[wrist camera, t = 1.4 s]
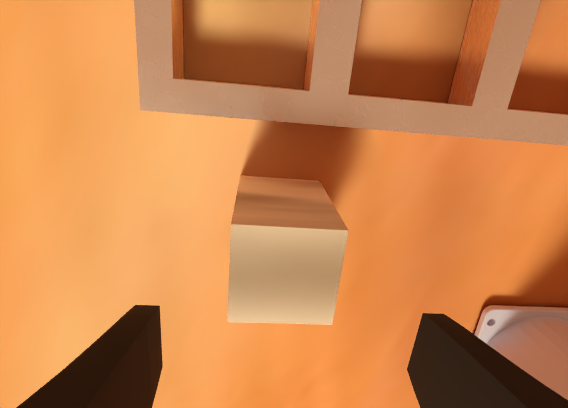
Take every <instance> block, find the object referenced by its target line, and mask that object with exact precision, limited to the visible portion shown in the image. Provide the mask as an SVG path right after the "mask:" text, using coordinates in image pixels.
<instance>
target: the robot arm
mask: <svg viewBox="0 0 568 408" xmlns="http://www.w3.org/2000/svg"><path fill="white" fill-rule="evenodd" d="M161 370H162V347H161V326H160V306H150V305H135V306H134V307H133V308H131V309H130V310H129V311H128V312H127V313H126V314H125V315H124V316H123V317H121V318H120V319H119V320H118V321H117V322H116V323H115V324H114V325H113V326H112V327H111V328H110V329H108V330H107V331H106V332H105V333H104V334H103V335H102V336H101V337H100V338H99V339H97V340H96V341H95V342H94V343H93V344H92V345H91V346H90V347H89V348H87V349H86V350H85V351H84V352H83V353H82V354H81V355H79V356H78V357H77V358H76V359H75V360H74V361H73V362H71V363H70V364H69V365H68V366H67V367H66V368H65V369H63V370H62V371H61V372H60V373H59V374H57V375H56V376H55V377H54V378H53V379H51V380H50V381H49V382H48V383H46V384H45V385H44V386H43V387H41V388H40V389H39V390H38V391H37V392H35V393H34V394H33V395H32V396H30V397H29V398H28V399H27V400H25V401H24V402H23V403H22V404H20V405H19V406H18V407H17V408H152V405H153V401H154V398H155V394H156V390H157V386H158V382H159V378H160V374H161ZM407 370H408V373H409V376H410V379H411V382H412V386H413V389H414V391H415V394H416V397H417V400H418V402H419V405H420V408H568V308H560V307H530V306H500V305H491V306H488V307H486V308H485V309H484V310H483V312H482V315H481V317H480V320H479V323H478V326H477V329H476V331H475V334H472V333H471V332H470V331H468V330H467V329H465V328H464V327H463V326H461V325H460V324H458V323H457V322H455V321H454V320H452V319H451V318H449V317H448V316H446V315H444V314H427V313H423V315H422V318H421V322H420V325H419V329H418V332H417V336H416V340H415V343H414V347H413V350H412V354H411V357H410V361H409V364H408V368H407Z"/></svg>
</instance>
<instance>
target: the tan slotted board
mask: <svg viewBox="0 0 568 408" xmlns="http://www.w3.org/2000/svg"><path fill="white" fill-rule="evenodd" d="M540 1H541V0H473V2H472V6H471V10H470V14H469V18H468V22H467V26H466V31H465V35H464V39H463V43H462V47H461V51H460V55H459V59H458V63H457V67H456V71H455V75H454V79H453V83H452V87H451V91H450V95H449V99H448V103H443V102H433V101H422V100H411V99H400V98H390V97H379V96H368V95H357V94H348V92H349V85H350V79H351V72H352V65H353V58H354V52H355V45H356V38H357V31H358V25H359V18H360V11H361V4H362V0H313V3H312V13H311V22H310V32H309V42H308V51H307V61H306V71H305V80H304V90H303V89H292V88H282V87H271V86H260V85H249V84H239V83H228V82H217V81H206V80H195V79H185V78H184V61H183V0H134V5H135V23H136V41H137V58H138V76H139V94H140V110H145V111H157V112H169V113H181V114H193V115H205V116H217V117H229V118H242V119H254V120H266V121H278V122H290V123H302V124H314V125H326V126H338V127H350V128H362V129H374V130H386V131H398V132H410V133H422V134H434V135H446V136H458V137H470V138H482V139H495V140H507V141H519V142H531V143H543V144H555V145H567V146H568V114H562V113H551V112H541V111H530V110H519V109H508V105H509V102H510V99H511V96H512V92H513V89H514V86H515V83H516V79H517V76H518V73H519V70H520V66H521V63H522V60H523V57H524V53H525V50H526V47H527V44H528V40H529V37H530V34H531V31H532V27H533V24H534V21H535V18H536V14H537V11H538V8H539V5H540Z"/></svg>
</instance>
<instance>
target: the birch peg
mask: <svg viewBox="0 0 568 408" xmlns="http://www.w3.org/2000/svg"><path fill="white" fill-rule="evenodd" d="M347 236H348V229H347V227H346V226H345V224H344V222H343V220H342V219H341V217H340V215H339V213H338V212H337V210H336V208H335V207H334V205H333V203H332V201H331V200H330V198H329V196H328V194H327V193H326V191H325V189H324V188H323V186H322V184H321V182H320V181H319V180H304V179H289V178H274V177H259V176H244V175H240V181H239V186H238V191H237V196H236V201H235V207H234V212H233V217H232V222H231V240H230V267H229V293H228V319H227V322H247V323H286V324H324V325H332V323H333V318H334V312H335V306H336V300H337V294H338V288H339V283H340V277H341V271H342V265H343V259H344V253H345V247H346V242H347Z"/></svg>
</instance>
